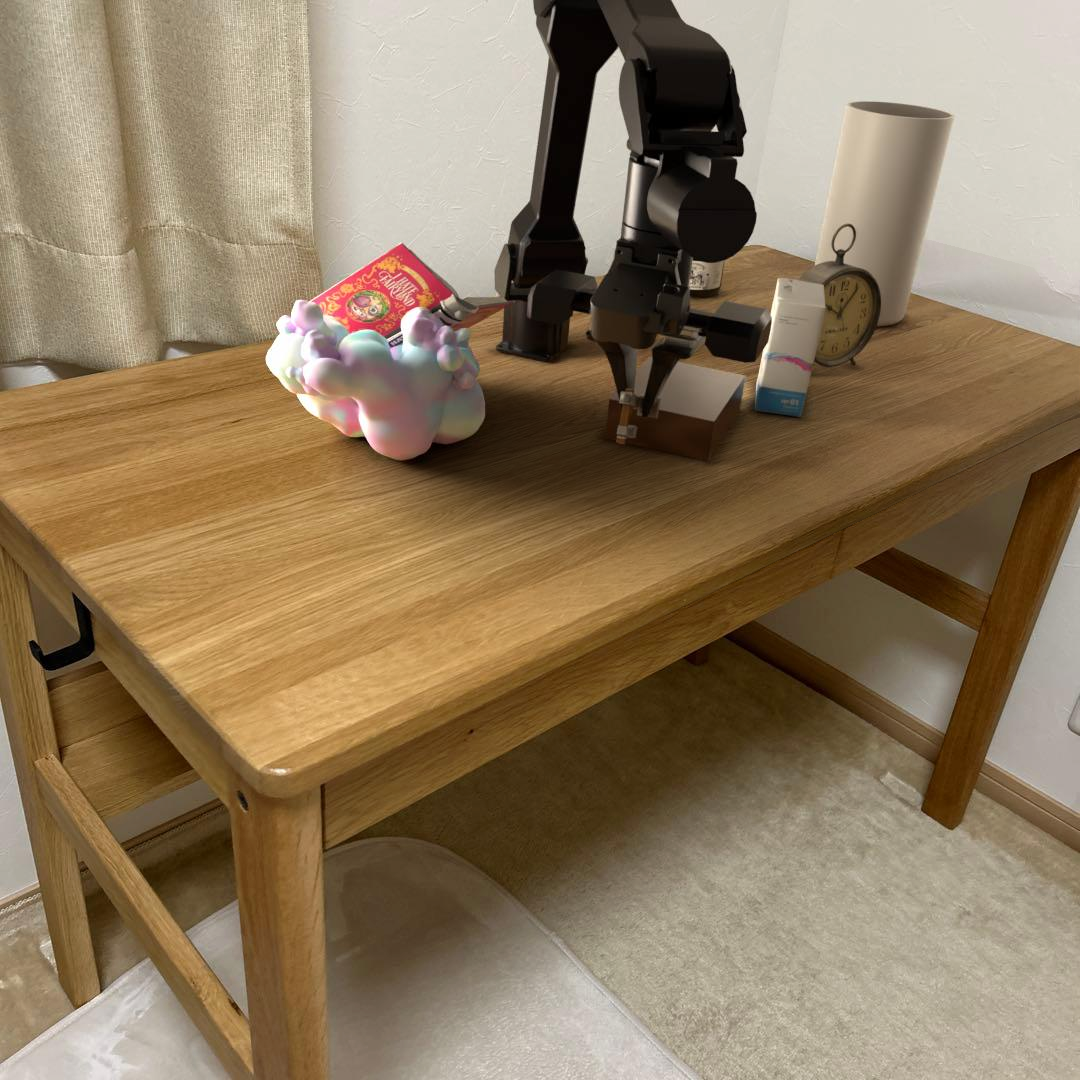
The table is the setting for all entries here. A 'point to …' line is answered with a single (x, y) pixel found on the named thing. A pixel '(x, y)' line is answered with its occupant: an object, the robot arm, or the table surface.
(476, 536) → the table surface
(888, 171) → the cylinder vase
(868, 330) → the alarm clock
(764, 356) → the ink box
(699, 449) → the walnut block
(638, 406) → the grey orange jointed piece
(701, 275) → the ink bottle
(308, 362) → the pastel bubbly cloud sculpture
